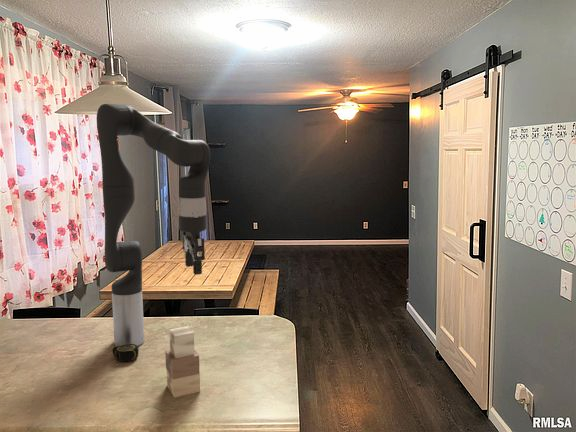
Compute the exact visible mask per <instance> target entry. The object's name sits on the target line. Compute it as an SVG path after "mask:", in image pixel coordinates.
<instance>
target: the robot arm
mask: <svg viewBox="0 0 576 432" xmlns="http://www.w3.org/2000/svg"><path fill="white" fill-rule="evenodd" d="M96 128H97V129H96V130H97V135H98V143H99V148H100V157H101V158H100V159H101V174H102V181H101V182H102V183H101V184H102V201H103V211H104V213H103V214H104V263H105V268H106V270H107V272H109V273H119V272H126V271H127V273H126V274H125V275H124V276H122V277H121V278H118V279H117V280H115V281H114V282H112V284H111V301H112V319H113V320H112V321H113V342H114V347H117V346H122V345H126V344H135V345H137V346H138V347H139V346H140V345H142V344H143V343H145V331H144V330H145V327H144V326H145V325H144V323H145V322H144V303H143V251H142V250H143V249H142V247H141V244H140V242H139V241H138V240H127V241H118V236H119V231H120V229H121V226H122V224H123V222H124V221H125V219H126V218H127V215H128V214H129V212H130V211H131V209H132V208H133V206H134V203H135V179H134V176H133V174H132V172H131V170H130V169H129V167H128V165H127V164H126V163H125V161H124V159H123V157H122V154H121V152H120V149H119V148H120V147H119V142H118V136H128V135H129V136H135V137H139V138H142V139H143V141H144V142H145V144H146V145H147V146H148V147H149V148H150V149H152V150H154V151H156V152H157V153H161V154H162V155H165V156H166V157H167V158H168V159H169V161H171V162H172V163H173V164H175V165H177V166H180V167H188V168H189V170H188V172H187V173H186V174H184V175H181V176H180V177H179V180H178V208H177V209H178V230H179V231H180V232H182V250H183V251H184V255H185V256H184V257H185V258H184V259H185V260H184V261H185V266H186V267H192V269H193V270H192V271H193V272H192V273H193V274H194V275H195V276H196V275H201V274H202V273H203V264H202V262H203V261H205V258H206V257H205V254H206V253H205V238H203V237H202V236H201V234H200V233H201V232H204V231H206V230H207V203H206V180H207V175H208V172H209V168H210V163H211V156H212V155H211V150H210V149H211V148H210V147H209V144H208V143H207V142H205V141H204V140H202V139H184V138H183V137H182V135H181V134H179V133H178V132H177V131H174V130H172V129H170V128H167V127H165V126H163V125H160V124H158V123H156V122H154V121H152V119H150V118H148V117H147V116H145V115H143V114H142V113H141V112H140V111H138V110H137V109H135V107H132V106H130V105H127V104H119V103H117V104H116V103H103V104H101V105H100V106H99V107H98V109H97V112H96Z"/></svg>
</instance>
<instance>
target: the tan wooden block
mask: <svg viewBox="0 0 576 432" xmlns="http://www.w3.org/2000/svg"><path fill="white" fill-rule="evenodd" d="M166 386H167V388H168V390H169V392H170V393H171V395H173V396H172V397H173V398H174V397H175V398H177V397H178V396H179V397H183V396H187V395H191V393H192V394H194V393H195V392H196V393H200V392H201V374H195V375H191V376H186V377H182V378H177V379H172V377H171V376H170V374H169V372H168V371H167V370H166ZM186 394H187V395H186ZM182 395H183V396H182ZM179 397H178V398H179Z"/></svg>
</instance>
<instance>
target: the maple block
mask: <svg viewBox="0 0 576 432" xmlns="http://www.w3.org/2000/svg"><path fill="white" fill-rule="evenodd" d="M169 350H170V352H171V353H172V354H173V356H174V357H175V358H180V357H185V356H190V355H194V350H195V331H193V330H192V329H191V328H190V327H189V325H187V326H183V327H182V326H181V327H177V328H172V329H171V328H170V329H169Z"/></svg>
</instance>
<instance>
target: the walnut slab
mask: <svg viewBox="0 0 576 432" xmlns="http://www.w3.org/2000/svg"><path fill="white" fill-rule="evenodd" d="M164 352H165V370H166V372H167V371H168V372H169V374H170V376H171V377H172V379H177V378H182V377H186V376H191V375H195V374H200V355H199V353H198V352H197V351H196V350H195V349H194V355H190V356H185V357H180V358H175V357H174V356H173V354H172V353H171V352H170V349H165V351H164ZM200 375H201V374H200Z"/></svg>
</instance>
